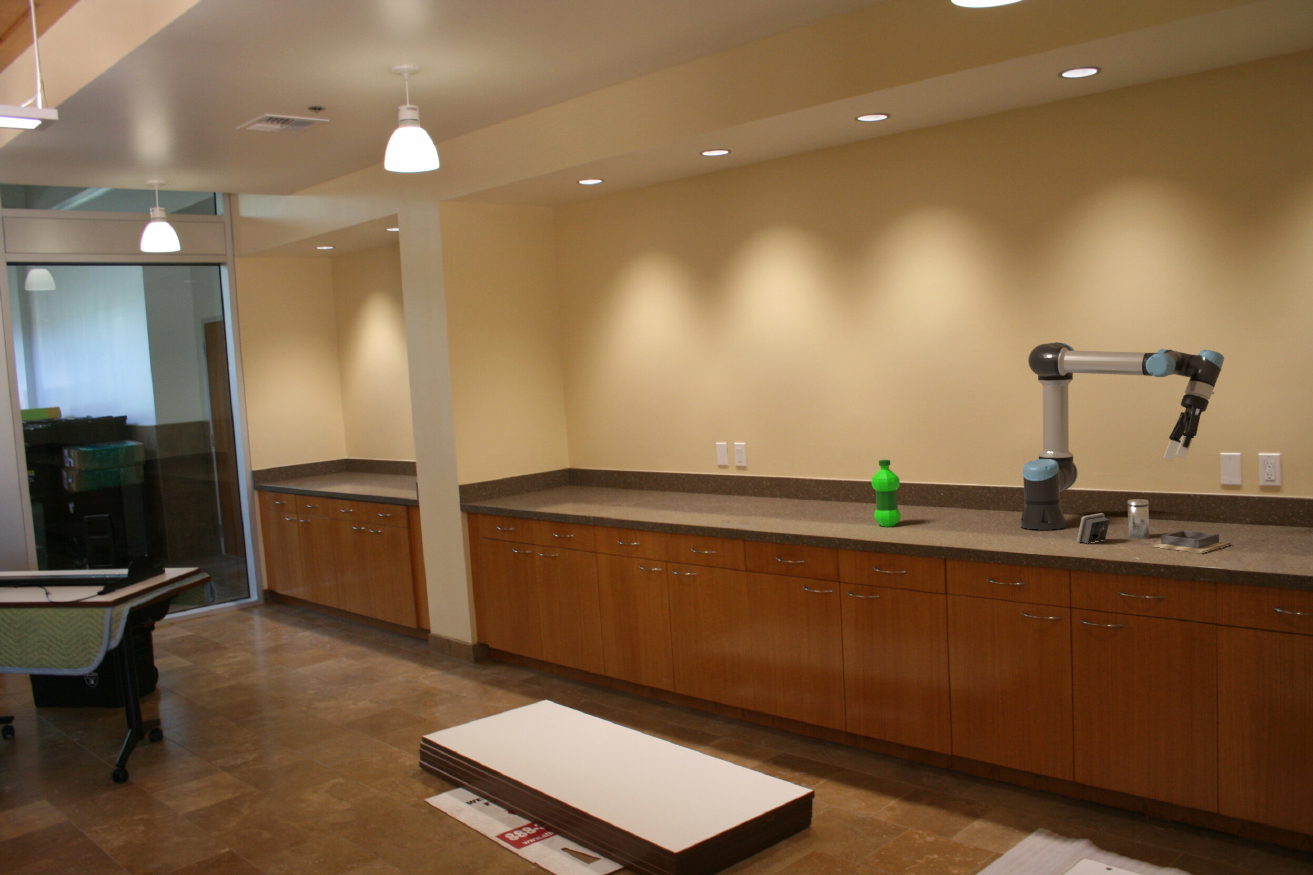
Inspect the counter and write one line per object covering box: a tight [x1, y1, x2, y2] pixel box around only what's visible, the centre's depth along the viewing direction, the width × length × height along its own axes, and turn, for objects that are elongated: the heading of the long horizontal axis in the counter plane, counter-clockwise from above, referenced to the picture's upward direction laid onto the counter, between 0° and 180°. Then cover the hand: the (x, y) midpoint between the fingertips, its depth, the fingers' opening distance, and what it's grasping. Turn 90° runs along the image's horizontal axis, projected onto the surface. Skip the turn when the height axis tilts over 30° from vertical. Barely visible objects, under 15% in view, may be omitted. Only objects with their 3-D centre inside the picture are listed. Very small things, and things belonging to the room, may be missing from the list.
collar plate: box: [1149, 529, 1232, 552], centre depth 294 cm, size 16×16×4 cm
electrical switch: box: [1076, 512, 1110, 545], centre depth 309 cm, size 9×5×9 cm, turn 113°
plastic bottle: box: [871, 459, 902, 528], centre depth 363 cm, size 10×10×25 cm
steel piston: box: [1126, 498, 1150, 539], centre depth 312 cm, size 6×6×12 cm
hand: (1173, 458), depth 311 cm, fingers open, 13 cm apart
